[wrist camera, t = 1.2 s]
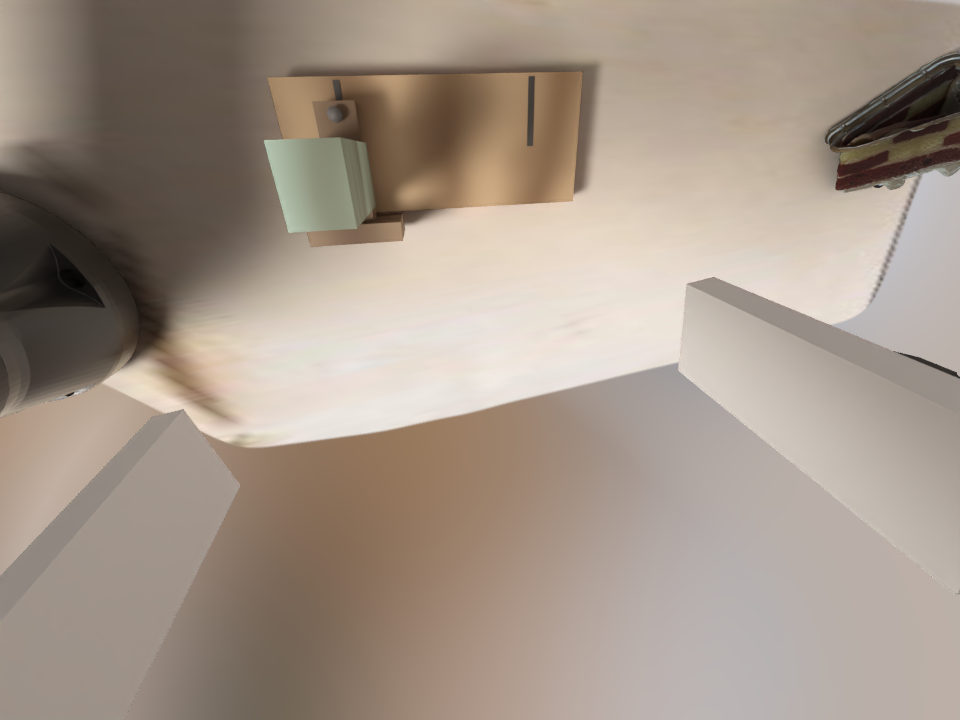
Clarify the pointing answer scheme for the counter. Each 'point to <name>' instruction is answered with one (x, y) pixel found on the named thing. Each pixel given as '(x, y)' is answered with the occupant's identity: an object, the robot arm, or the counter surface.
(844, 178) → the chocolate cake
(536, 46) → the counter surface
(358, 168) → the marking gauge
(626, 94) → the counter surface
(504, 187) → the oak board
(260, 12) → the counter surface
